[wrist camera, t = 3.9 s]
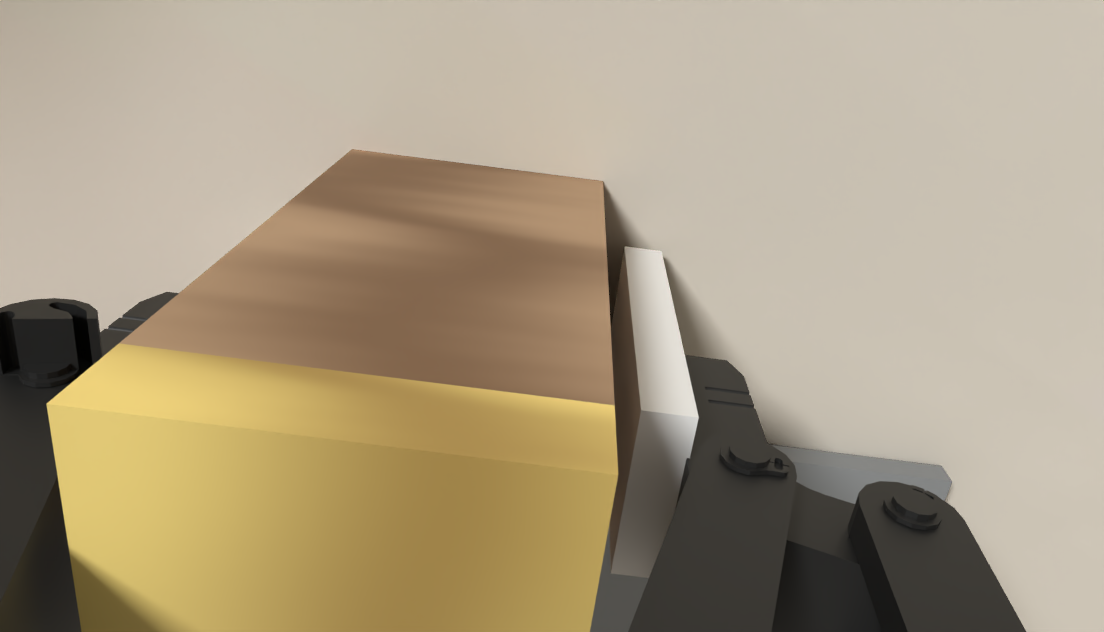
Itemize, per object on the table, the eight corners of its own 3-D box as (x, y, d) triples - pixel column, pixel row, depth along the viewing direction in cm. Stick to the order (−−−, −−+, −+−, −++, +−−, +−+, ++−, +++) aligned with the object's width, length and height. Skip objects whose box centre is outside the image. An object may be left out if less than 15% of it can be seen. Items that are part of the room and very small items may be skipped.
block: (347, 371, 18) (105, 789, 9) (352, 149, 16) (47, 403, 7) (570, 399, 18) (551, 843, 9) (602, 181, 16) (618, 474, 7)
